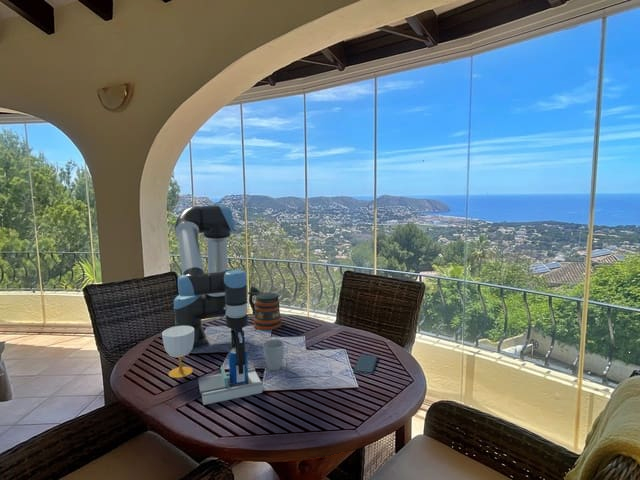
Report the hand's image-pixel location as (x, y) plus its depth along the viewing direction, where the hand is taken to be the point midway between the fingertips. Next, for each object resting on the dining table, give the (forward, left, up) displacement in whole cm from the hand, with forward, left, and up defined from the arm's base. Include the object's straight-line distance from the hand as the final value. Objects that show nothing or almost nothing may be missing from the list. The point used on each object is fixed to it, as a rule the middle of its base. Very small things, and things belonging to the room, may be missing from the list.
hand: (238, 376), depth 136 cm
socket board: (0, -3, -4) cm, 5 cm away
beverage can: (0, 0, -2) cm, 2 cm away
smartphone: (+1, +51, -5) cm, 51 cm away
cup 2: (-11, +16, -5) cm, 20 cm away
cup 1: (-21, -19, -5) cm, 29 cm away
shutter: (0, -9, -1) cm, 9 cm away
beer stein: (-60, +24, -5) cm, 65 cm away
